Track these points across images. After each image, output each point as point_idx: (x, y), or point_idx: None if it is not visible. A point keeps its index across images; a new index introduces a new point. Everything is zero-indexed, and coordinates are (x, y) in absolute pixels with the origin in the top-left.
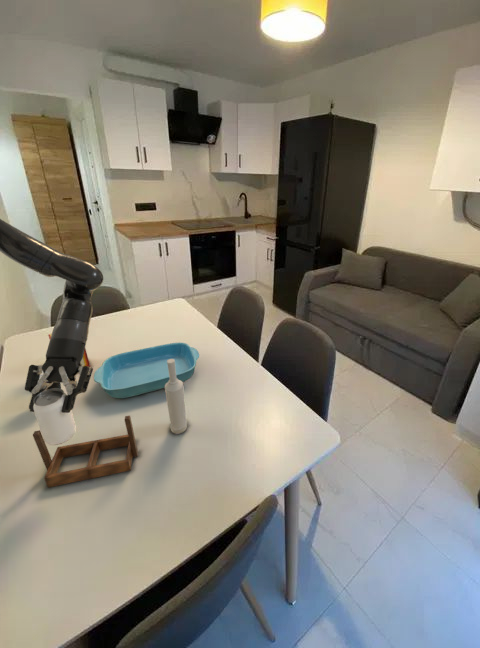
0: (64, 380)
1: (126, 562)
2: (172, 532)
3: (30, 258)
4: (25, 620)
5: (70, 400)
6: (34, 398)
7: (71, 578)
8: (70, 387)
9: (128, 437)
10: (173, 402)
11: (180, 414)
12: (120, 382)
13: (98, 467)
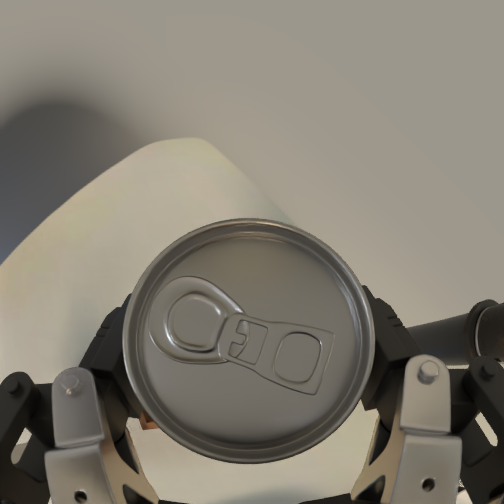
0: (88, 491)
1: (99, 207)
2: (53, 244)
3: None
4: (194, 151)
5: (94, 347)
6: (366, 297)
7: (160, 185)
8: (58, 417)
9: (151, 421)
10: (17, 447)
11: None
12: None
13: None
